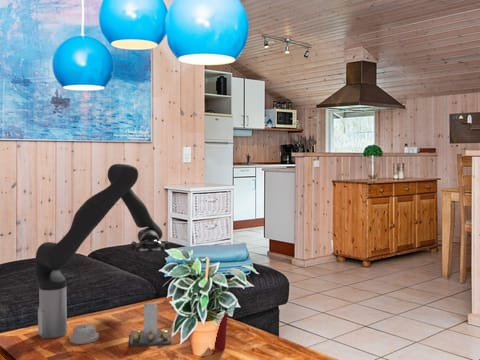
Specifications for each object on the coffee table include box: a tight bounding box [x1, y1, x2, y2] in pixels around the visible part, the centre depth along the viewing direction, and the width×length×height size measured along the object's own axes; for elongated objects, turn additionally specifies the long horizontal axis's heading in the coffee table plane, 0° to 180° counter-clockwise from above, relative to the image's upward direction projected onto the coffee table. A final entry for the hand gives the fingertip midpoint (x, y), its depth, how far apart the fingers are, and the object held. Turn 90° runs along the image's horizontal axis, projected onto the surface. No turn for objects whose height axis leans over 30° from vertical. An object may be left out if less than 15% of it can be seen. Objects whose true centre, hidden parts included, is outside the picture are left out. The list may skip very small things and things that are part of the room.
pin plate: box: [129, 328, 172, 347], centre depth 178 cm, size 14×12×4 cm
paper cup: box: [214, 312, 228, 352], centre depth 170 cm, size 8×8×14 cm
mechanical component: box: [69, 323, 100, 345], centre depth 178 cm, size 10×4×10 cm
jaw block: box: [143, 302, 158, 339], centre depth 178 cm, size 4×4×11 cm
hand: (150, 249), depth 188 cm, fingers open, 8 cm apart
